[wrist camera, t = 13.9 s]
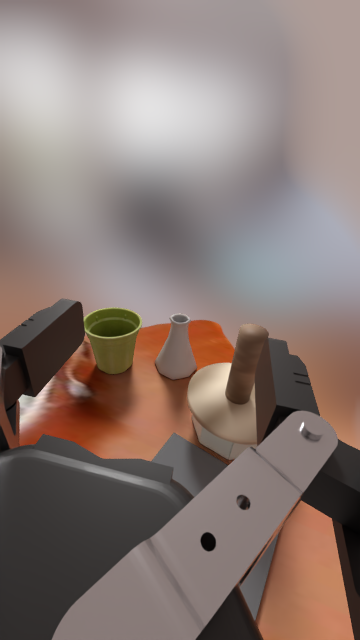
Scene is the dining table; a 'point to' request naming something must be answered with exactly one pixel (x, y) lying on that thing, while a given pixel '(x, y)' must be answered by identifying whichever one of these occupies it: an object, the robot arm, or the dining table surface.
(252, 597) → the mat
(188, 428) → the dining table surface
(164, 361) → the flask
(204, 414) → the lid
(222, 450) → the bowl
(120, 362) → the plant pot
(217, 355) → the dining table surface
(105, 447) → the dining table surface
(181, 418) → the dining table surface
